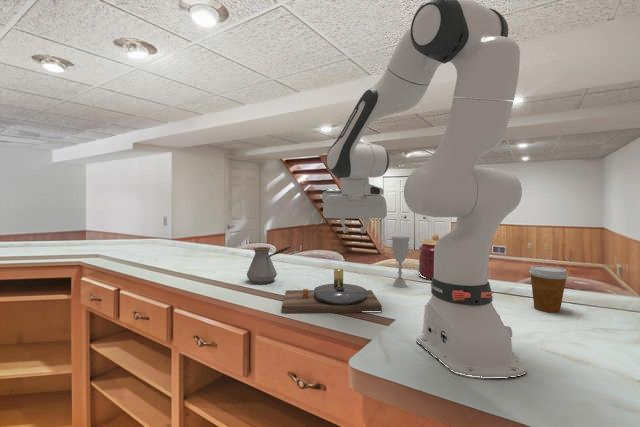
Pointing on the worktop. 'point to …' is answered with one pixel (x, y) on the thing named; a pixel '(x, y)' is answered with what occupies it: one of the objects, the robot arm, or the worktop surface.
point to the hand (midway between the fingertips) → (354, 232)
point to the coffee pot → (263, 265)
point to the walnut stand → (308, 304)
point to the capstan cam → (340, 292)
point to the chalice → (400, 255)
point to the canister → (427, 257)
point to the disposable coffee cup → (548, 287)
